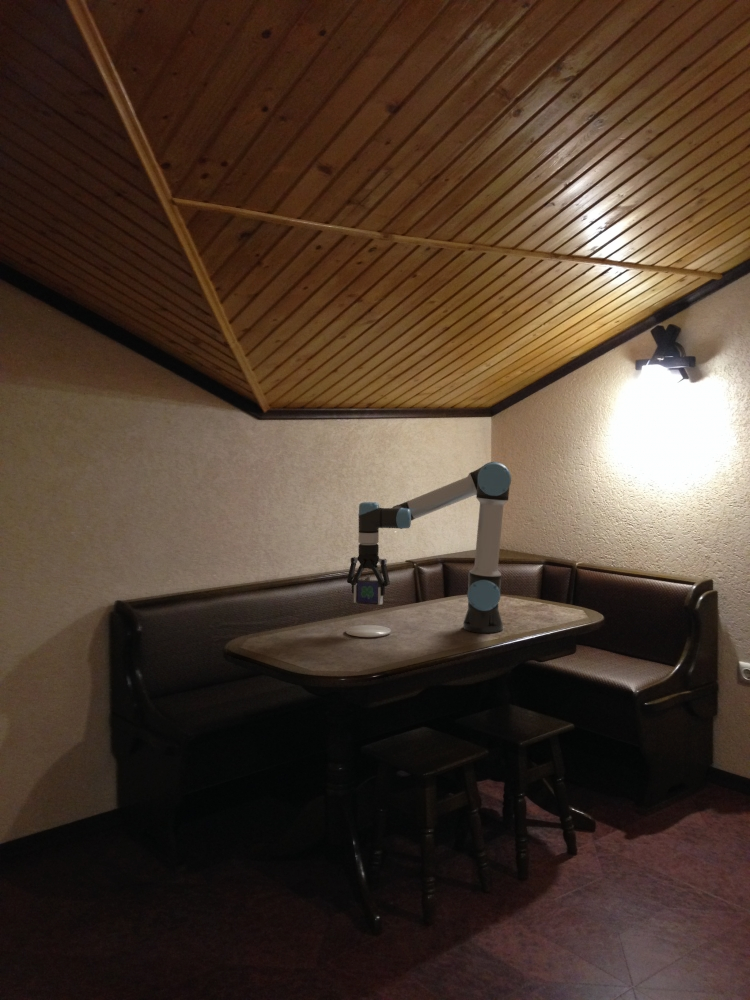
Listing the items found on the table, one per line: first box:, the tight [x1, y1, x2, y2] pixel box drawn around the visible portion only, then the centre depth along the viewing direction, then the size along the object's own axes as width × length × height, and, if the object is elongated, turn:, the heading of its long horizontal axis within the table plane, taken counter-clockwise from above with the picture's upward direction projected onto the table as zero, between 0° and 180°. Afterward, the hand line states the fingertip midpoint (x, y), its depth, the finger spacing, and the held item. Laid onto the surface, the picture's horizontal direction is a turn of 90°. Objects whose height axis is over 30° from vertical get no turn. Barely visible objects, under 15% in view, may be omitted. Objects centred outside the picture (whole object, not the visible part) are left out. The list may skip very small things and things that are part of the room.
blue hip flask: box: [356, 575, 380, 605], centre depth 309 cm, size 9×3×11 cm, turn 74°
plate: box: [345, 624, 392, 638], centre depth 310 cm, size 17×17×1 cm
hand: (368, 603), depth 310 cm, fingers closed on blue hip flask, 9 cm apart
